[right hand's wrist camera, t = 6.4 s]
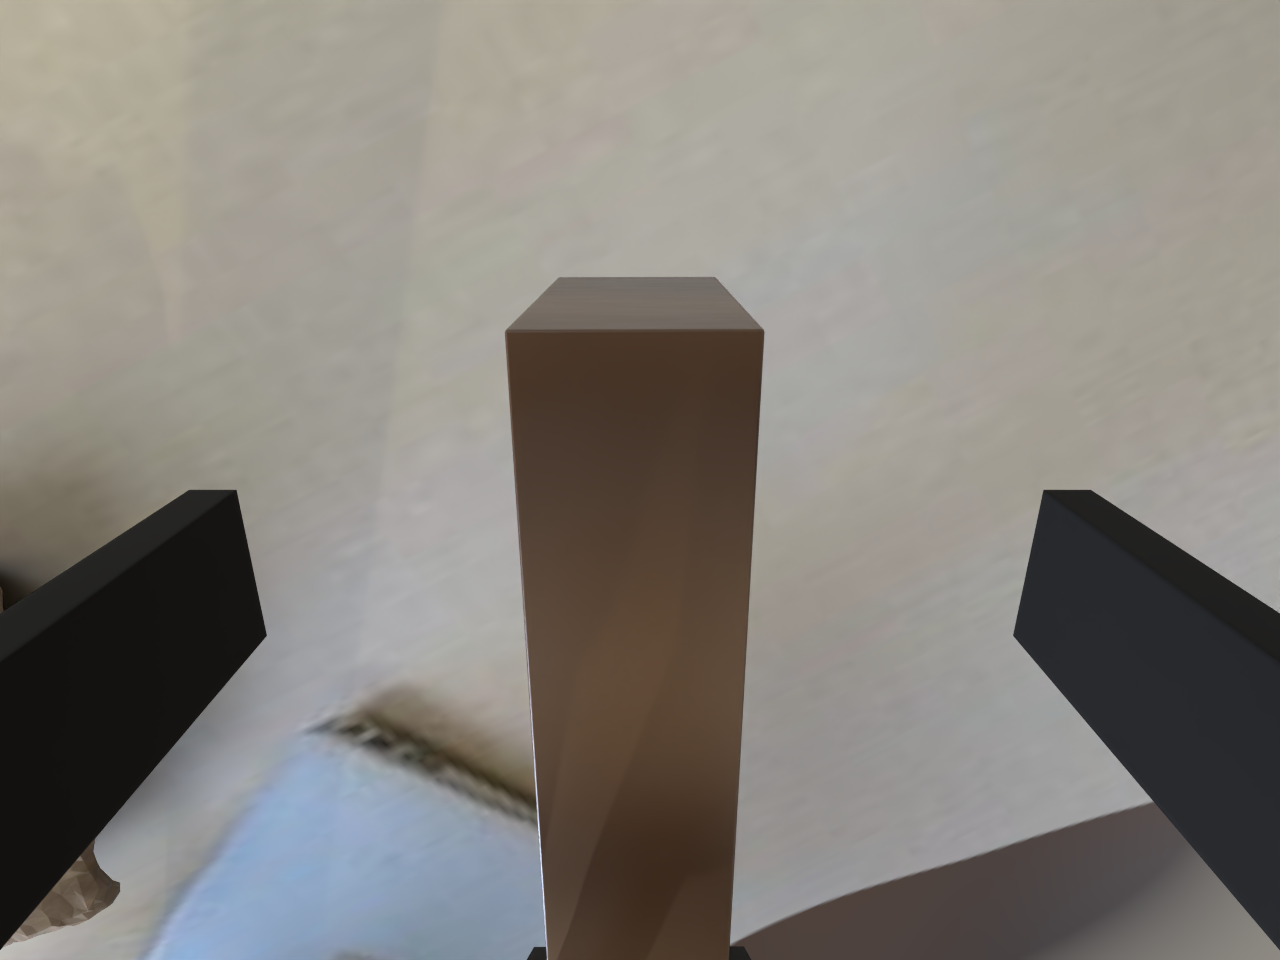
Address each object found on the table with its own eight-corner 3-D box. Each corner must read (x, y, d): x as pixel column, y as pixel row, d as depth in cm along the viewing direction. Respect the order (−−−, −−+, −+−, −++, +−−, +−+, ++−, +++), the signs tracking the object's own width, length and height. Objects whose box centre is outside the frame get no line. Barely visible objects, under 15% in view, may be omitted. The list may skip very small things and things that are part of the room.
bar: (557, 277, 21) (504, 330, 13) (715, 277, 21) (765, 329, 13) (584, 914, 30) (561, 1189, 22) (695, 914, 30) (716, 1189, 22)
